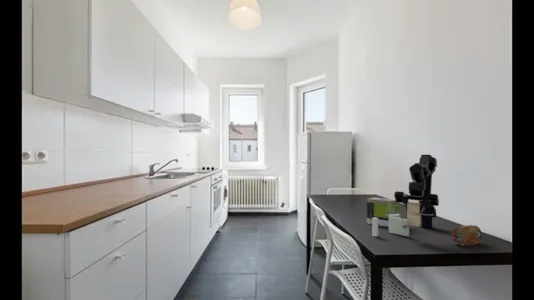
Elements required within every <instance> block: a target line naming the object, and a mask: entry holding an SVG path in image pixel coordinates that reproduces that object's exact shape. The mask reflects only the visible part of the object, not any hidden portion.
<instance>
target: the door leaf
mask: <svg viewBox="0 0 534 300" xmlns="http://www.w3.org/2000/svg"><path fill="white" fill-rule="evenodd" d="M388 232H389V233H391V234H394V235H400V236H402V237H408V238H409V237H410V227H407V218H401V217H400V218H396V217H389V227H388Z"/></svg>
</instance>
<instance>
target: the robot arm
mask: <svg viewBox="0 0 534 300" xmlns="http://www.w3.org/2000/svg"><path fill="white" fill-rule="evenodd" d="M436 168H438V161H437V158H436V157H434V156H432V154H421V155H420V157H419V162H416V163H414V164H412V165H411V166H410V167H409V169H408V171H409V173H410V177H411V180H412V181H410V182H408V187H407V188H408V193H409V194H407V193H404V191H399V190H398V191H395V192H394V194H393V196H394V199H395V200H396V202H399V203H400V204H401V203H402V204H403V205H405V209H406V210H405V211H407V203H408V202H410V201H416V202H417V201H418V202H419V203H421V207H420V212H419V213H420V214H421V227H420V228H422V229H436V227H435V226H433V218H434V219H435V218H437V208H436V207H438V206H439V204H440V199H439V195H438V194H437V193H432V187H433V186H432V185H433V184H432V181H433V174H434V172H436V170H437V169H436ZM409 200H410V201H409Z"/></svg>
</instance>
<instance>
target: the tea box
mask: <svg viewBox="0 0 534 300" xmlns="http://www.w3.org/2000/svg"><path fill="white" fill-rule="evenodd" d="M389 214H393V215H395V214H400V205H399V202H396V200H395V198H383V197H369V198H367V199H366V223H368V224H369V225H372V218H374V217H375V218H378V227H379V226H380V227H387V228H389ZM368 224H367V225H368Z"/></svg>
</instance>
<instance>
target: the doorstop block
mask: <svg viewBox="0 0 534 300" xmlns="http://www.w3.org/2000/svg"><path fill="white" fill-rule="evenodd" d="M420 207H421V203H419V201H418V202H417V201H409V202H408V203H407V210H406V215H407V217H406V220H407V227H409V228H412V229H420V228H422V227H421V214H420V213H419V212H420Z"/></svg>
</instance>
